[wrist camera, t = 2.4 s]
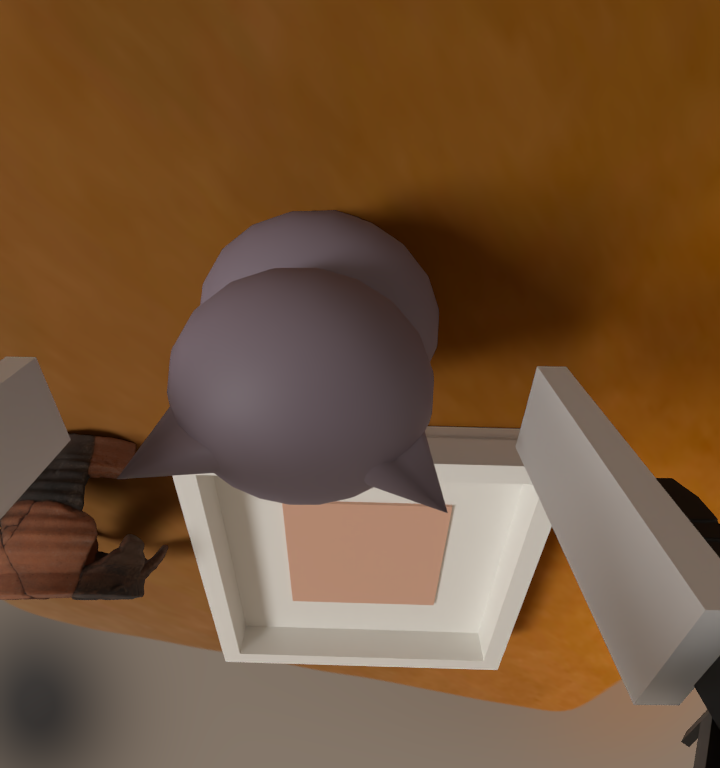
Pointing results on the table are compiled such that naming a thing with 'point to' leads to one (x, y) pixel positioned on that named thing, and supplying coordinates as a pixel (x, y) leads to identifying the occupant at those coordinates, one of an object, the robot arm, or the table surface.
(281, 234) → the cat figurine
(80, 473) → the pottery mug
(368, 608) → the tray
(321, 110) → the table surface
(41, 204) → the table surface
